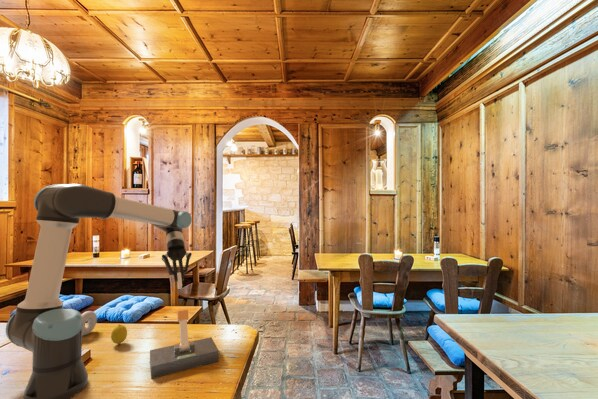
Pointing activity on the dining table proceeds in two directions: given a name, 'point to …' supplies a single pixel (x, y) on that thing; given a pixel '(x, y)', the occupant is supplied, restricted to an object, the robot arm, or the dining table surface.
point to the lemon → (119, 334)
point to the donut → (91, 322)
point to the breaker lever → (183, 329)
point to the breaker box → (182, 357)
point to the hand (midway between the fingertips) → (180, 287)
